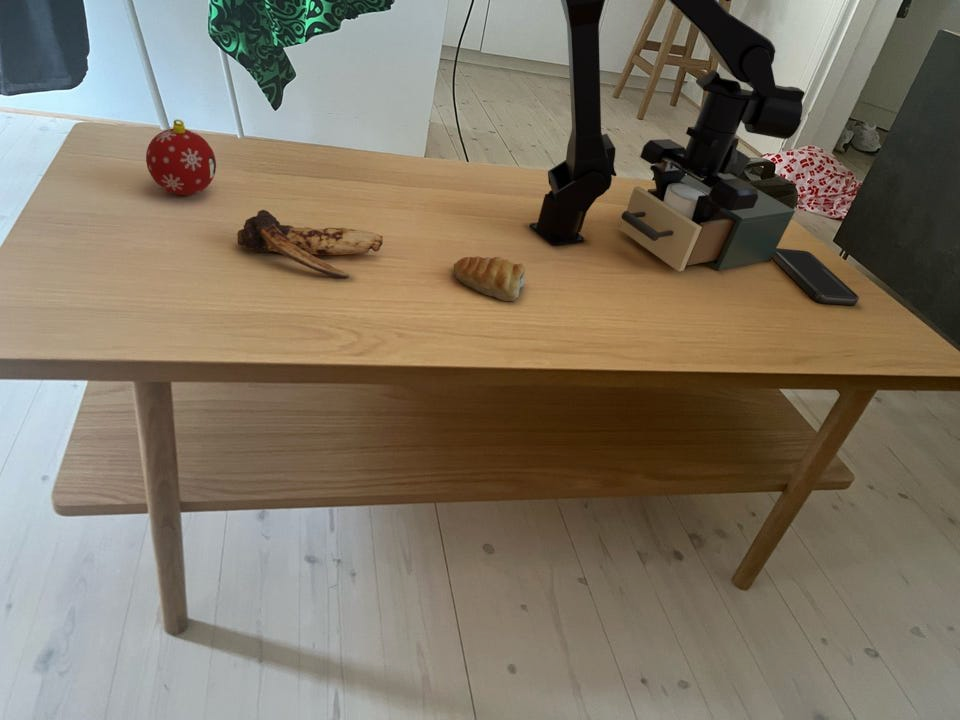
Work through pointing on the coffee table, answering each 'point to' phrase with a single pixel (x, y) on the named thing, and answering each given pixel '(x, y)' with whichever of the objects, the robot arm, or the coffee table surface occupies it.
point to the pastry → (491, 276)
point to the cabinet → (750, 229)
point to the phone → (814, 277)
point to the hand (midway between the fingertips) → (676, 225)
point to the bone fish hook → (305, 241)
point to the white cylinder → (682, 198)
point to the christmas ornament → (180, 160)
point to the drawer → (674, 231)
